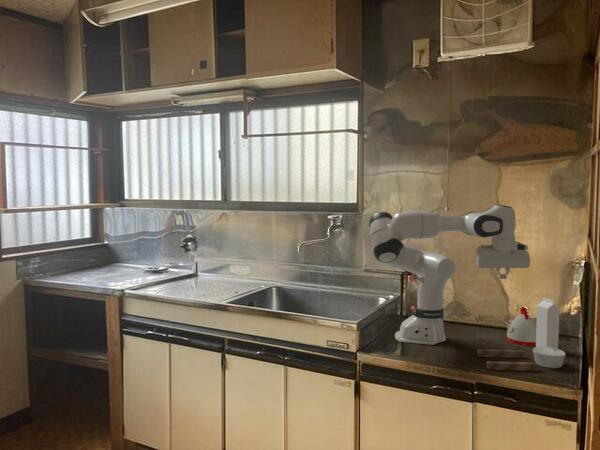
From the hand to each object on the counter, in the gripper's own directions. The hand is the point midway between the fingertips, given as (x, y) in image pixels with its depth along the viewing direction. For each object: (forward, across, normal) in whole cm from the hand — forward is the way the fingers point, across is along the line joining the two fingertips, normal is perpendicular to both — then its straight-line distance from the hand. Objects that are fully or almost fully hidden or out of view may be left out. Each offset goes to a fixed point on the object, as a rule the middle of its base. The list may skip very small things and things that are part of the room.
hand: (502, 278), depth 202 cm
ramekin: (+32, +15, -11) cm, 36 cm away
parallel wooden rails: (+31, -1, -11) cm, 33 cm away
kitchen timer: (+31, +15, +18) cm, 39 cm away
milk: (+31, +20, +5) cm, 37 cm away
